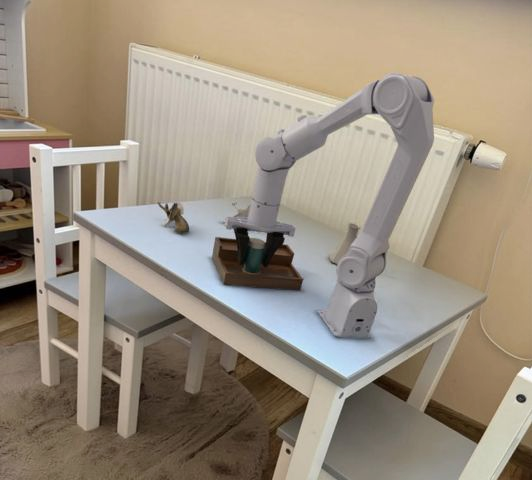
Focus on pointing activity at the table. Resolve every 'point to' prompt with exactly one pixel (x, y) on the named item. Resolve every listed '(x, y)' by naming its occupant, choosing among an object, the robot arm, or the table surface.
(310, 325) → the table surface
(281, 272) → the spice shelf
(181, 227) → the eagle figurine
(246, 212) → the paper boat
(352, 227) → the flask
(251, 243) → the cylinder
